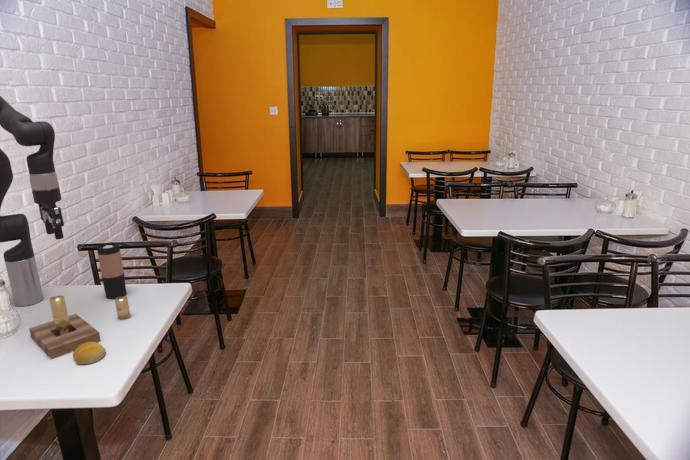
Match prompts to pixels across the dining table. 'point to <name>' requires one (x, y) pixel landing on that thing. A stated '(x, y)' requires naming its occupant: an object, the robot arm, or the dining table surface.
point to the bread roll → (89, 353)
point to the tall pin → (60, 315)
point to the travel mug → (112, 270)
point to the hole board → (63, 336)
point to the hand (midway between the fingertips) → (55, 236)
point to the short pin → (122, 307)
